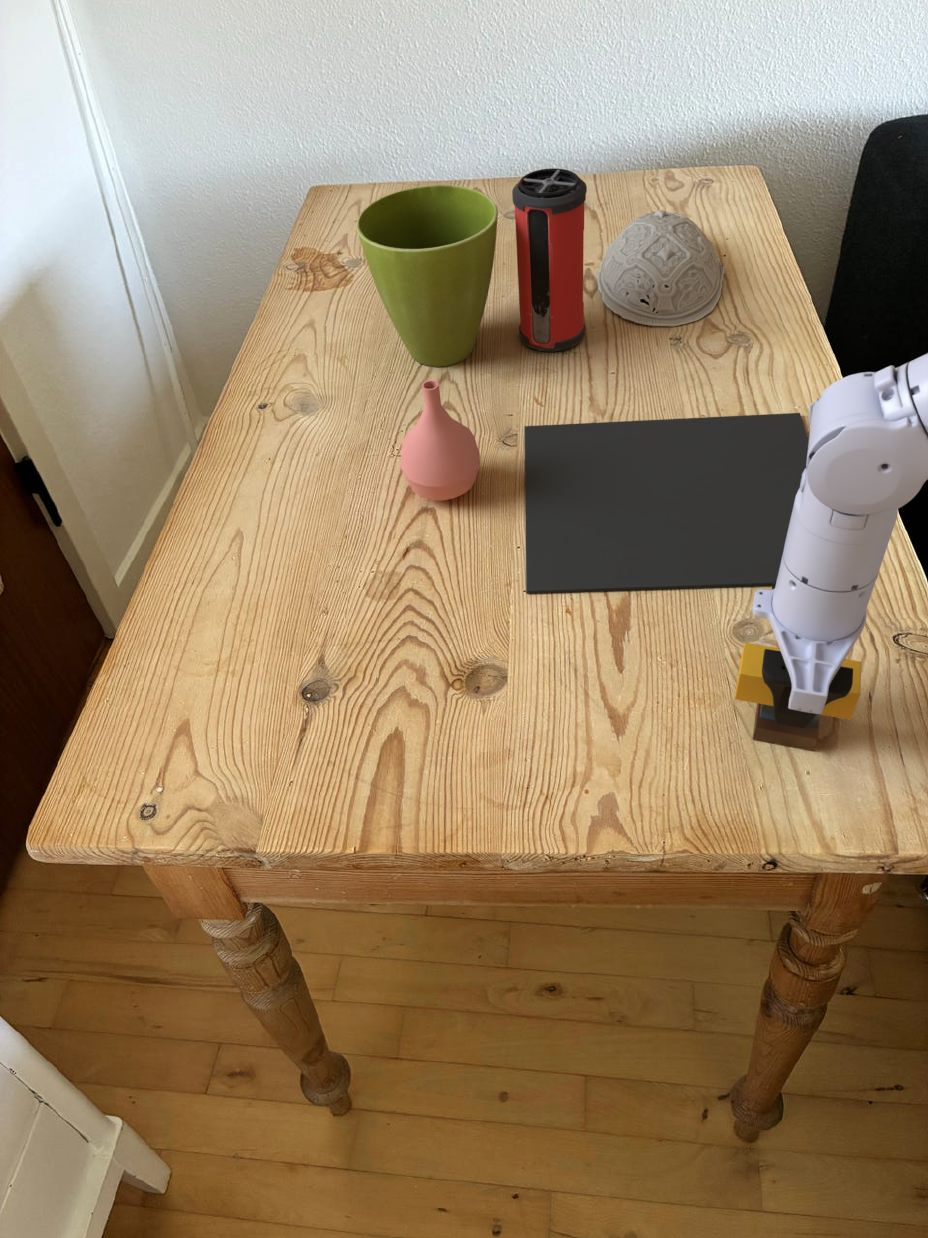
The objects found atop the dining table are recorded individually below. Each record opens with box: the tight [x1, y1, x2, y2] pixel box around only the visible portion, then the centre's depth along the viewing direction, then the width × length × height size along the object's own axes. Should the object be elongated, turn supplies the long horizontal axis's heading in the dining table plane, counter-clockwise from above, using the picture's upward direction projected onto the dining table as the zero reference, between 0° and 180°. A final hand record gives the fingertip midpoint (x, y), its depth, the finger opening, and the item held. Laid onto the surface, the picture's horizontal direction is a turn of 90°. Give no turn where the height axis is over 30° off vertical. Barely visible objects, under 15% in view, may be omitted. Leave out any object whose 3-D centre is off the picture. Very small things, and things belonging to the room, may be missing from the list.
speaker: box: [511, 167, 588, 353], centre depth 103 cm, size 8×8×18 cm
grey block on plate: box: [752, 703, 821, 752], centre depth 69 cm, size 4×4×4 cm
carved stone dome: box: [596, 209, 726, 328], centre depth 116 cm, size 16×25×7 cm, turn 172°
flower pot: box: [355, 184, 499, 368], centre depth 104 cm, size 15×15×16 cm
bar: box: [734, 642, 862, 721], centre depth 67 cm, size 8×3×3 cm, turn 73°
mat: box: [524, 412, 809, 595], centre depth 89 cm, size 28×24×1 cm
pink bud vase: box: [400, 379, 481, 501], centre depth 88 cm, size 8×8×12 cm
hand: (793, 694), depth 68 cm, fingers open, 4 cm apart
